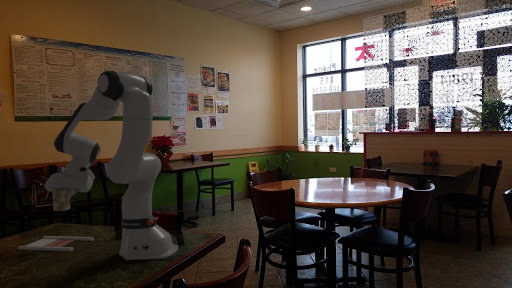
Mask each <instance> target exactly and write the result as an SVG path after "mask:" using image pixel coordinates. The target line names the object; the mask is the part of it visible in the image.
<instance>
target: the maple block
mask: <svg viewBox="0 0 512 288" xmlns="http://www.w3.org/2000/svg"><path fill="white" fill-rule="evenodd" d="M69 193H70V189H59V190H54V191H52V196H53V198H52V201H53V203H52V204H53V205H52V206H53V207H52V208H53V212H64V211H68V210H70V209H71V199H70V200H66V199H65V196H66V194H69Z"/></svg>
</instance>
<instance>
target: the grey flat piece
mask: <svg viewBox="0 0 512 288" xmlns="http://www.w3.org/2000/svg"><path fill="white" fill-rule="evenodd" d="M94 240H95V239H94V236H61V235H58V236H57V235H56V236H53V235H44V236H42V238H41V239H38V240H36V241H34V242H32V243H29V244H26V245H20V246H18V248H17V250H20V251H21V250H22V251H48V252H49V251H50V252H54V251H55V252H73V251H74V247H71V246H69V247H68V246H67V245H68V244H70V243H71V244H72V243H73V242H76V241H87V242H90V241H91V242H93V241H94ZM64 246H65V247H64Z"/></svg>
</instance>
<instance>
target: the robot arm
mask: <svg viewBox="0 0 512 288" xmlns="http://www.w3.org/2000/svg"><path fill="white" fill-rule="evenodd" d="M153 90H154V89H153V83H152V82H151V79H149V78H147V77H145V76H142V75H137V74H133V73H129V72H126V71H115V70H105V71H103V72H102V73H100V74H99V76H98V79H97V85H96V88H95V90H94V91H93V94H92V97H91V98H90V99H89V100H88V101H87V102H82V103H80V104H79V105H78V106H77V107H76V109H75V111H74V112H73V113H72V115H71V116H70V117H69V119H68V121H67V122H66V124H64V127H63V128H62V130H61V131H60V132H59V133H58V134H57V135H56V137H55V138H54V141H53V145H54V148H55V150H56V152H58V153H62V154H67V155H69V156H72V157H71V160H70V161H69V162H68V163H67V164H66V165H65V168H64V170H63V171H62V172H56V173H53V174H52V175H50V176H49V178H48V179H47V180H46V181H45V183H44V185H43V186H44V189H45V190H46V191H48V192H53V191H54V190H59V189H70V193H69V194H66V196H65V199H66V200H70V201H71V198H72V197H73V196H75V195H76V194H77V193H88V192H89V191H90V190H91V188H92V186H93V184H94V180H95V178H96V177H95V175H94V173H93V172H92V171H91V169H90V168H89V167H91V165H92V164H93V163H95V162H96V161H97V158H98V157H99V155H100V153H101V147H100V145H99V143H98V142H97V141H95V140H92V139H90V138H88V137H85V136H82V135H80V134H77V133H75V130H76V128H77V126H78V125H79V123H80V122H81V121H83V120H84V121H85V120H87V121H90V120H91V121H98V122H99V121H106V120H110V119H112V118H113V117H114V116H115V114H116V113H117V111H118V109H119V106H120V105H121V103H122V105H123V110H122V126H121V129H122V130H121V138H120V140H119V141H120V142H119V146H118V148H117V150H116V152H115V154H114V156H113V157H112V158H111V159H110V160H109V161H108V163H107V166H106V174H107V177H108V179H109V180H110V181H111V182H113V183H115V184H121V185H122V184H124V185H125V184H126V185H128V186H127V190H126V191H125V193H124V194H123V196H122V198H121V209H122V211H121V213H122V217H121V219H120V220H121V231H122V237H121V245H120V250H119V253H118V254H119V256H120V257H122V258H123V259H124V260H125V261H129V260H130V261H131V260H132V261H134V260H138V261H139V260H156V259H157V260H159V259H167V258H169V257H171V256H173V255H175V254H176V253H177V252H178V251H179V246H178V245H177V244H174V243H173V239H172V236H171V234H170V233H169V232H168V231H166V230H165V229H164V228H162V227H161V226H160V225H158V224H157V220H158V219H159V216H156V217H155V216H154V215H153V213H152V212H153V211H152V207H153V206H152V198H153V189H154V185H155V182H156V179H157V177H158V175H159V174H160V172H161V171H162V161H161V159H160V158H159V157H158V156H157V155H156V154H153V153H150V152H145V150H146V147H147V146H148V145H149V143H150V142H151V140H152V136H153V117H154V116H153V103H152V102H153V101H152V95H153ZM51 198H52V199H53V195H52V196H51Z"/></svg>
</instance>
